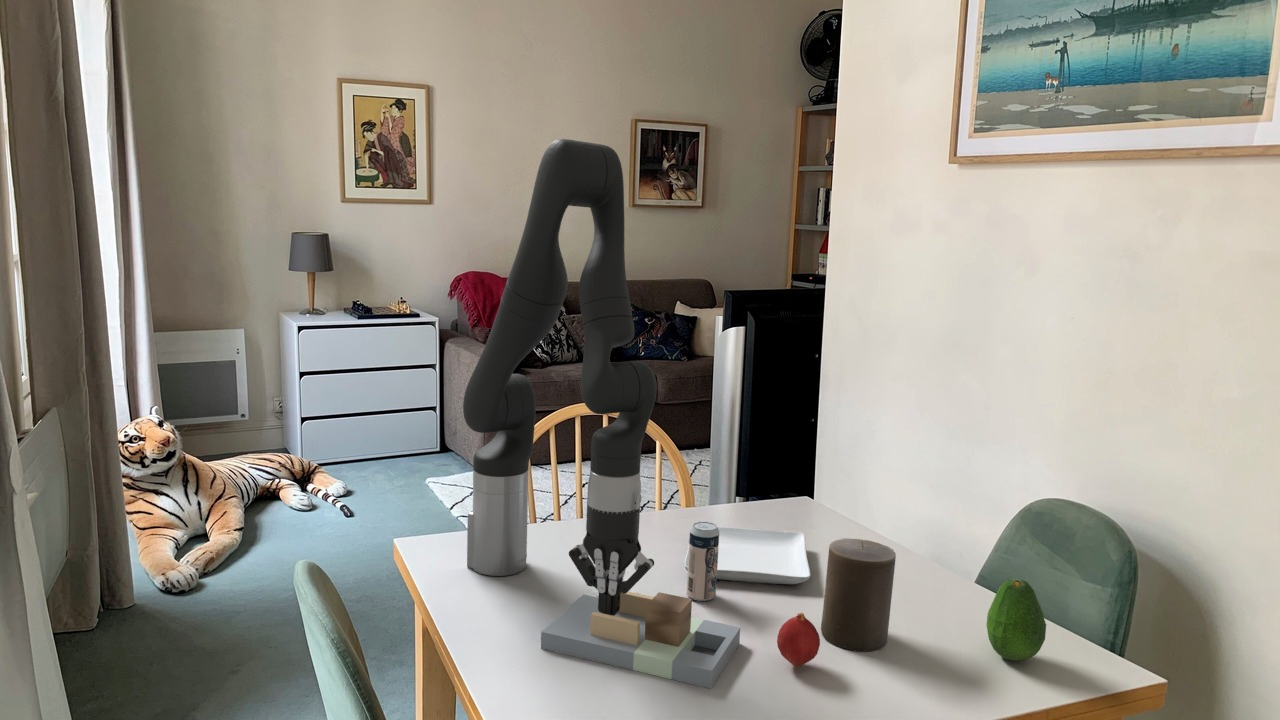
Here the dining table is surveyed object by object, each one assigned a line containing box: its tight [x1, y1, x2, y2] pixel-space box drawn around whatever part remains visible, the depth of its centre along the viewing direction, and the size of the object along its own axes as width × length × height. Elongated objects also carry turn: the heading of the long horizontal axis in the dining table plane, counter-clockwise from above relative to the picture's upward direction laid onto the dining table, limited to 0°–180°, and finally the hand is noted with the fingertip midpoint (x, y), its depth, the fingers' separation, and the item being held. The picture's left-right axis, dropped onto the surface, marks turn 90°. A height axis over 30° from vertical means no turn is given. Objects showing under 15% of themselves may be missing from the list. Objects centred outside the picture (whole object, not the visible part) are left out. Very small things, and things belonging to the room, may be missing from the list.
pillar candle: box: [820, 537, 897, 652], centre depth 136 cm, size 10×10×15 cm
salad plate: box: [683, 526, 811, 585], centre depth 163 cm, size 21×21×3 cm
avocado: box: [986, 577, 1047, 662], centre depth 131 cm, size 8×8×12 cm
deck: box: [540, 591, 741, 689], centre depth 131 cm, size 25×14×6 cm, turn 69°
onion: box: [776, 612, 821, 668], centre depth 127 cm, size 6×6×8 cm
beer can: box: [686, 521, 720, 602], centre depth 148 cm, size 5×5×12 cm
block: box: [645, 591, 693, 647], centre depth 129 cm, size 5×5×5 cm
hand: (608, 615), depth 133 cm, fingers closed
